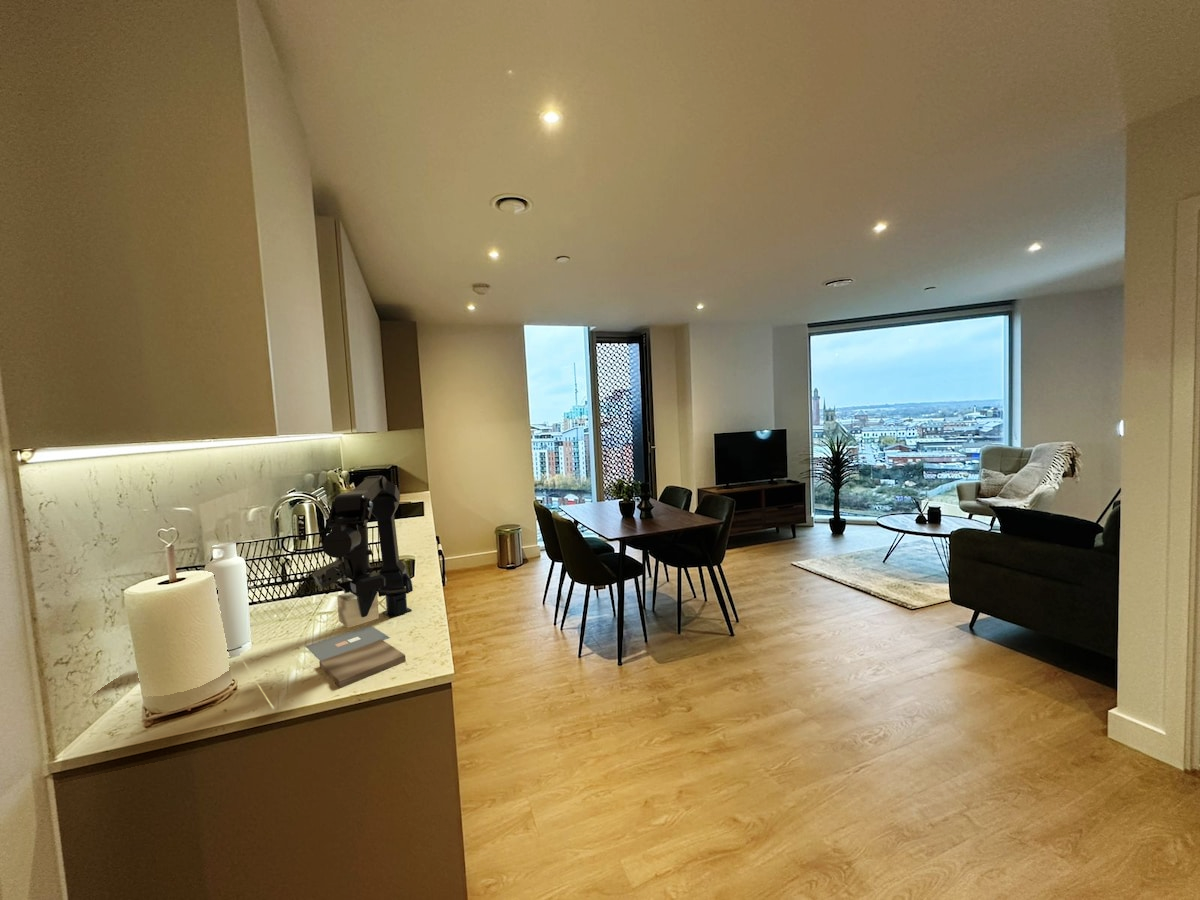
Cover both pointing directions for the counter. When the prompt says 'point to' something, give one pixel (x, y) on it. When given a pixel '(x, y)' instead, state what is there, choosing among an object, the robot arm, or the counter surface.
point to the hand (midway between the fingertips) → (358, 613)
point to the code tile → (345, 642)
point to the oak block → (354, 610)
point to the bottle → (232, 596)
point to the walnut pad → (361, 662)
